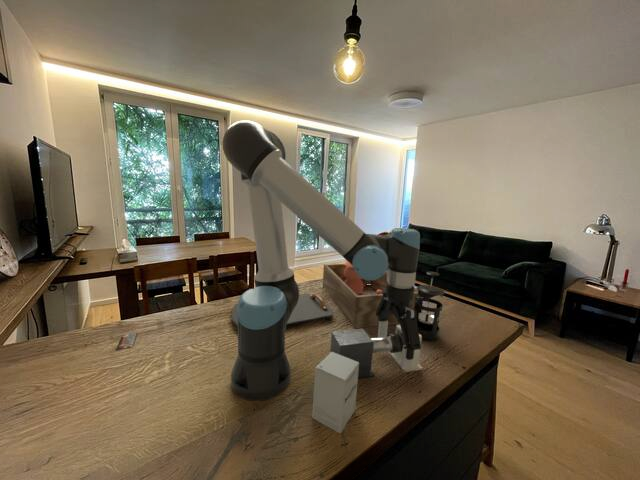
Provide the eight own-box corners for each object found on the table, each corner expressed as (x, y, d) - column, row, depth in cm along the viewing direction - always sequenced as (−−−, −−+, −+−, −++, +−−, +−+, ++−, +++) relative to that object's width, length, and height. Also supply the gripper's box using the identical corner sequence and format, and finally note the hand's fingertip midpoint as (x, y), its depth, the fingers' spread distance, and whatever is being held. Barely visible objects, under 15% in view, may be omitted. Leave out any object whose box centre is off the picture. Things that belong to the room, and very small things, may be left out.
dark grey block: (336, 382, 71) (338, 348, 69) (326, 361, 80) (328, 330, 78) (374, 376, 74) (377, 343, 72) (361, 357, 83) (363, 326, 81)
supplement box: (341, 435, 56) (345, 381, 54) (311, 418, 60) (313, 366, 58) (356, 411, 62) (360, 361, 60) (328, 397, 66) (331, 350, 64)
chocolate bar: (122, 334, 89) (121, 332, 89) (139, 332, 91) (139, 330, 91) (113, 353, 79) (113, 351, 79) (133, 350, 81) (133, 348, 81)
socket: (405, 372, 77) (409, 339, 75) (389, 353, 85) (392, 323, 83) (422, 369, 78) (426, 337, 76) (404, 351, 87) (408, 322, 85)
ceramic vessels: (414, 317, 110) (420, 273, 107) (371, 327, 101) (376, 278, 98) (364, 287, 141) (367, 252, 138) (328, 292, 132) (330, 255, 129)
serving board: (237, 341, 89) (236, 323, 88) (226, 311, 109) (226, 296, 108) (339, 320, 106) (340, 305, 105) (314, 298, 126) (315, 285, 125)
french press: (446, 340, 94) (455, 277, 90) (423, 344, 92) (431, 278, 87) (424, 324, 105) (431, 266, 101) (403, 326, 103) (409, 267, 98)
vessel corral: (353, 327, 100) (356, 297, 98) (322, 287, 139) (323, 264, 137) (418, 321, 107) (422, 292, 105) (371, 284, 146) (373, 263, 144)
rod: (362, 361, 74) (363, 343, 73) (354, 350, 79) (356, 333, 78) (413, 354, 79) (415, 337, 78) (403, 344, 84) (405, 328, 83)
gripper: (442, 301, 65) (431, 380, 69) (389, 270, 89) (383, 330, 93) (415, 303, 63) (405, 384, 67) (368, 271, 87) (363, 332, 91)
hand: (392, 353), depth 80 cm, fingers open, 13 cm apart
